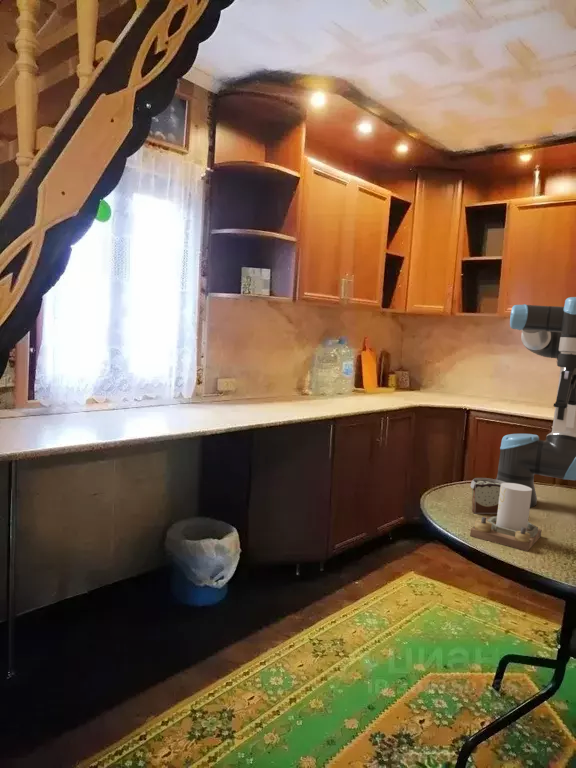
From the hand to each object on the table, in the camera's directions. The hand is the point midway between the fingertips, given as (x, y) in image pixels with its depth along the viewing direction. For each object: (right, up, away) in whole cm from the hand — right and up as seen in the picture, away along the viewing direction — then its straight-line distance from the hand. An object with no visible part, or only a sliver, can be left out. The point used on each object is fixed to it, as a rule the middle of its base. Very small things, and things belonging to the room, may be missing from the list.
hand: (563, 429), depth 163 cm
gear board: (-17, -30, -1) cm, 34 cm away
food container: (-15, -28, +23) cm, 39 cm away
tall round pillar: (-15, -28, 0) cm, 32 cm away
